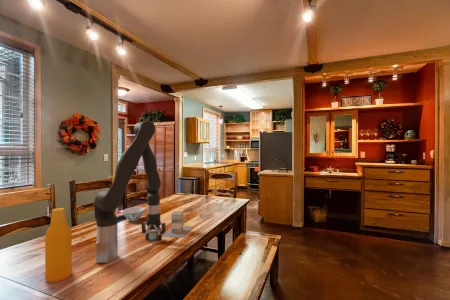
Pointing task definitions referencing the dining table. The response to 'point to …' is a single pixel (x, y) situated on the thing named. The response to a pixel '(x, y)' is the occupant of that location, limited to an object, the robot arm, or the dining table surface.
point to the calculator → (120, 215)
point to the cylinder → (153, 235)
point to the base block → (177, 227)
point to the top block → (178, 217)
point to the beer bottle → (58, 248)
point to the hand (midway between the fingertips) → (153, 240)
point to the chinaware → (133, 213)
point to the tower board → (182, 234)
